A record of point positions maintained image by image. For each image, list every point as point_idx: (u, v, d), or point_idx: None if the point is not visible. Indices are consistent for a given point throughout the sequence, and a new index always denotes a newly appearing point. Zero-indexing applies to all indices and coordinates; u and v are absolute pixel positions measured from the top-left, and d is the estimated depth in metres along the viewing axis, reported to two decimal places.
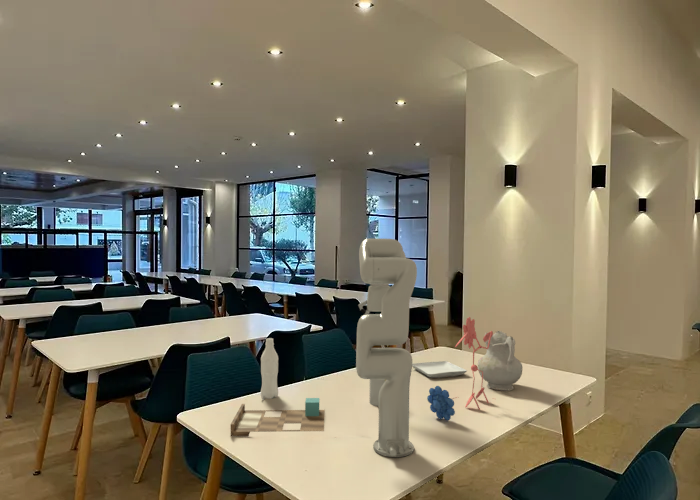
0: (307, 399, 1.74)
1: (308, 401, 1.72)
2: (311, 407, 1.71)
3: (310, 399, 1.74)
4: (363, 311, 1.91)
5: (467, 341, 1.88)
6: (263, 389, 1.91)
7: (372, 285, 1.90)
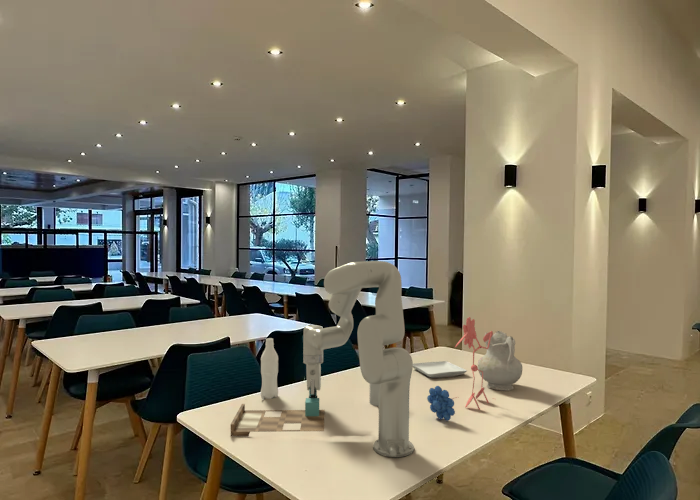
0: (307, 399, 1.74)
1: (308, 401, 1.72)
2: (311, 407, 1.71)
3: (310, 399, 1.74)
4: None
5: (467, 341, 1.88)
6: (263, 389, 1.91)
7: (318, 362, 1.75)
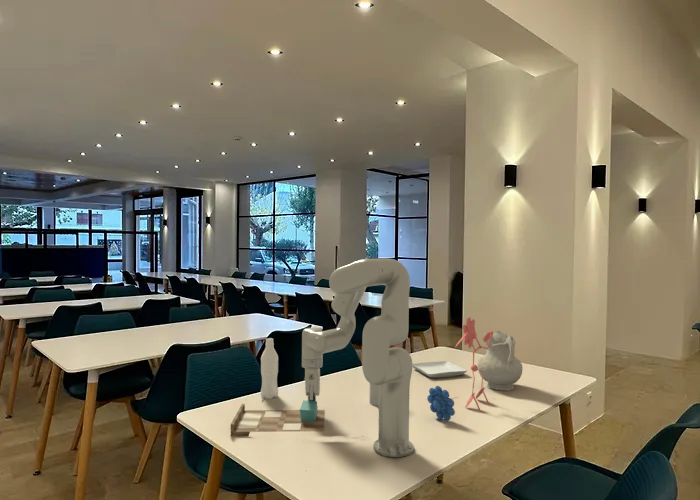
0: (303, 403, 1.67)
1: (303, 407, 1.65)
2: (306, 414, 1.64)
3: (306, 403, 1.67)
4: (313, 399, 1.69)
5: (467, 341, 1.88)
6: (263, 389, 1.91)
7: (317, 366, 1.68)
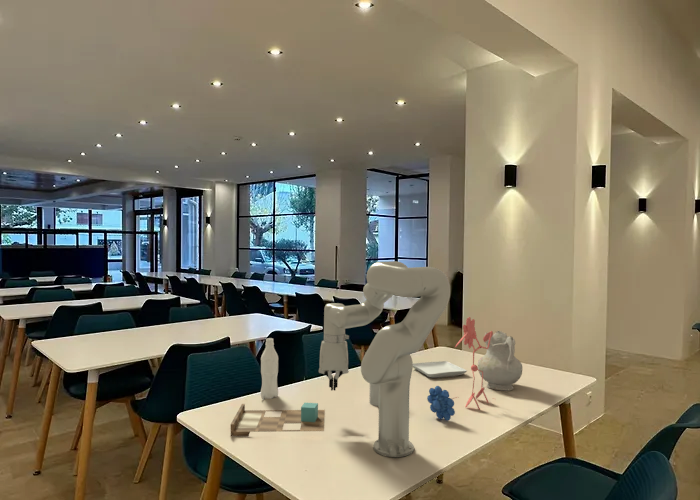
0: (305, 404, 1.69)
1: (304, 406, 1.67)
2: (307, 412, 1.65)
3: (308, 404, 1.69)
4: None
5: (467, 341, 1.88)
6: (263, 389, 1.91)
7: None
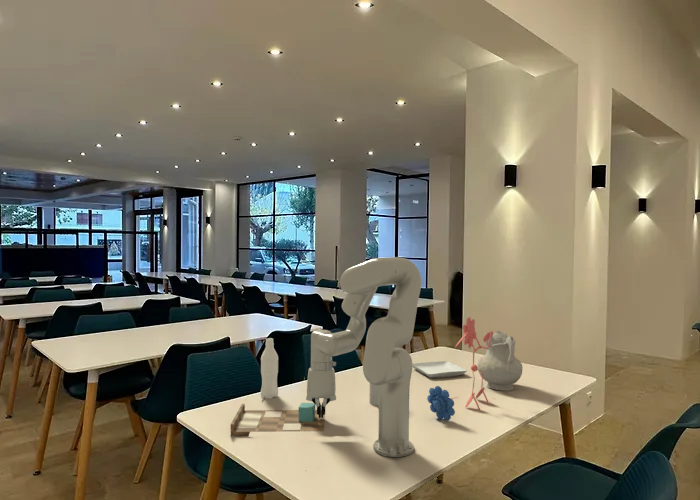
0: (302, 404, 1.69)
1: (302, 406, 1.67)
2: (304, 412, 1.65)
3: (305, 404, 1.69)
4: None
5: (467, 341, 1.88)
6: (263, 389, 1.91)
7: None
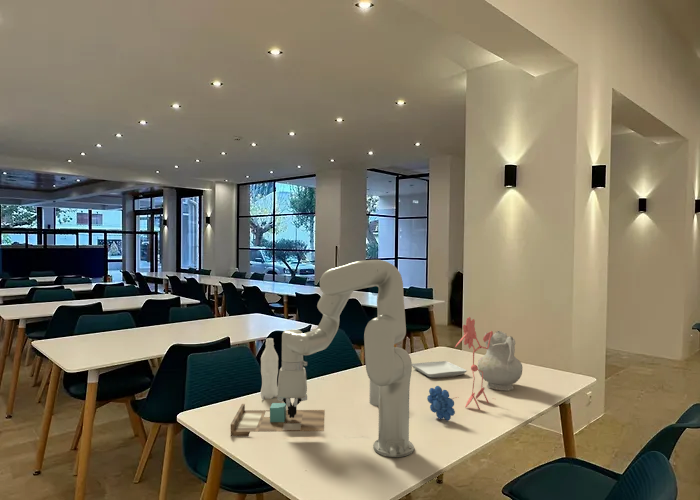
0: (273, 404, 1.68)
1: (273, 406, 1.66)
2: (276, 412, 1.65)
3: (276, 404, 1.68)
4: None
5: (467, 341, 1.88)
6: (263, 389, 1.91)
7: None
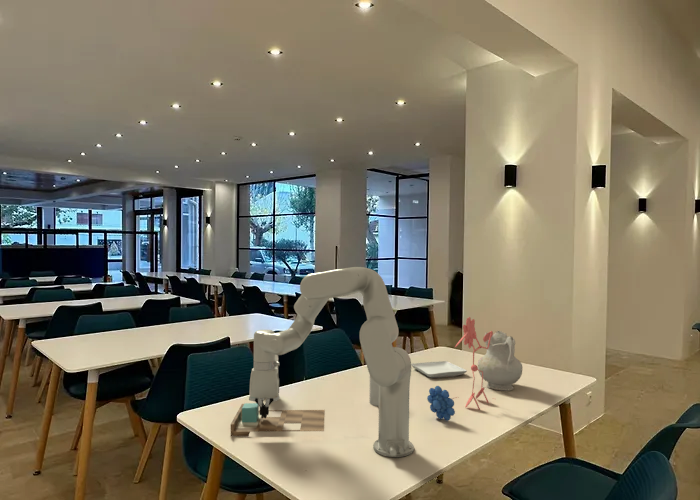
0: (245, 404, 1.68)
1: (245, 407, 1.66)
2: (248, 413, 1.65)
3: (248, 404, 1.68)
4: None
5: (467, 341, 1.88)
6: None
7: None
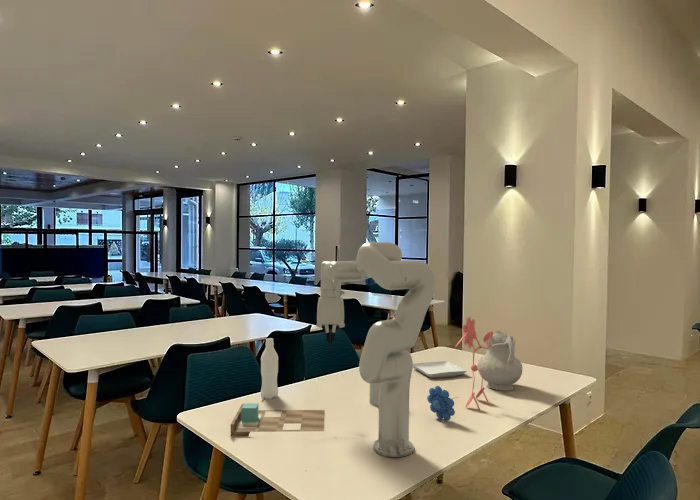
0: (245, 404, 1.68)
1: (245, 407, 1.66)
2: (248, 413, 1.65)
3: (248, 404, 1.68)
4: None
5: (467, 341, 1.88)
6: (263, 389, 1.91)
7: None
